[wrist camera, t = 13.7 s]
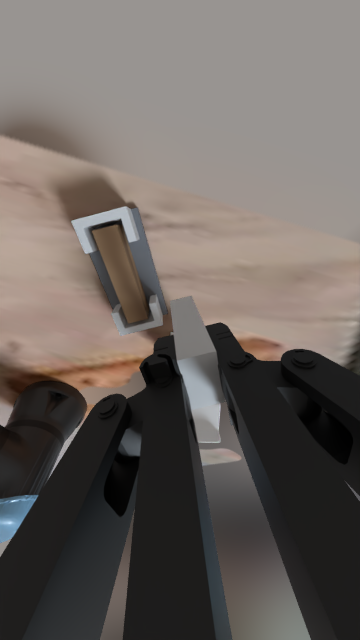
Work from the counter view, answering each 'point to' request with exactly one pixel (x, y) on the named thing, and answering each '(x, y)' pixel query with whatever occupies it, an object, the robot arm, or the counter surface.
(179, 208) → the counter surface
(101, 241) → the slat
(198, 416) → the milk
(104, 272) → the endcap rail
